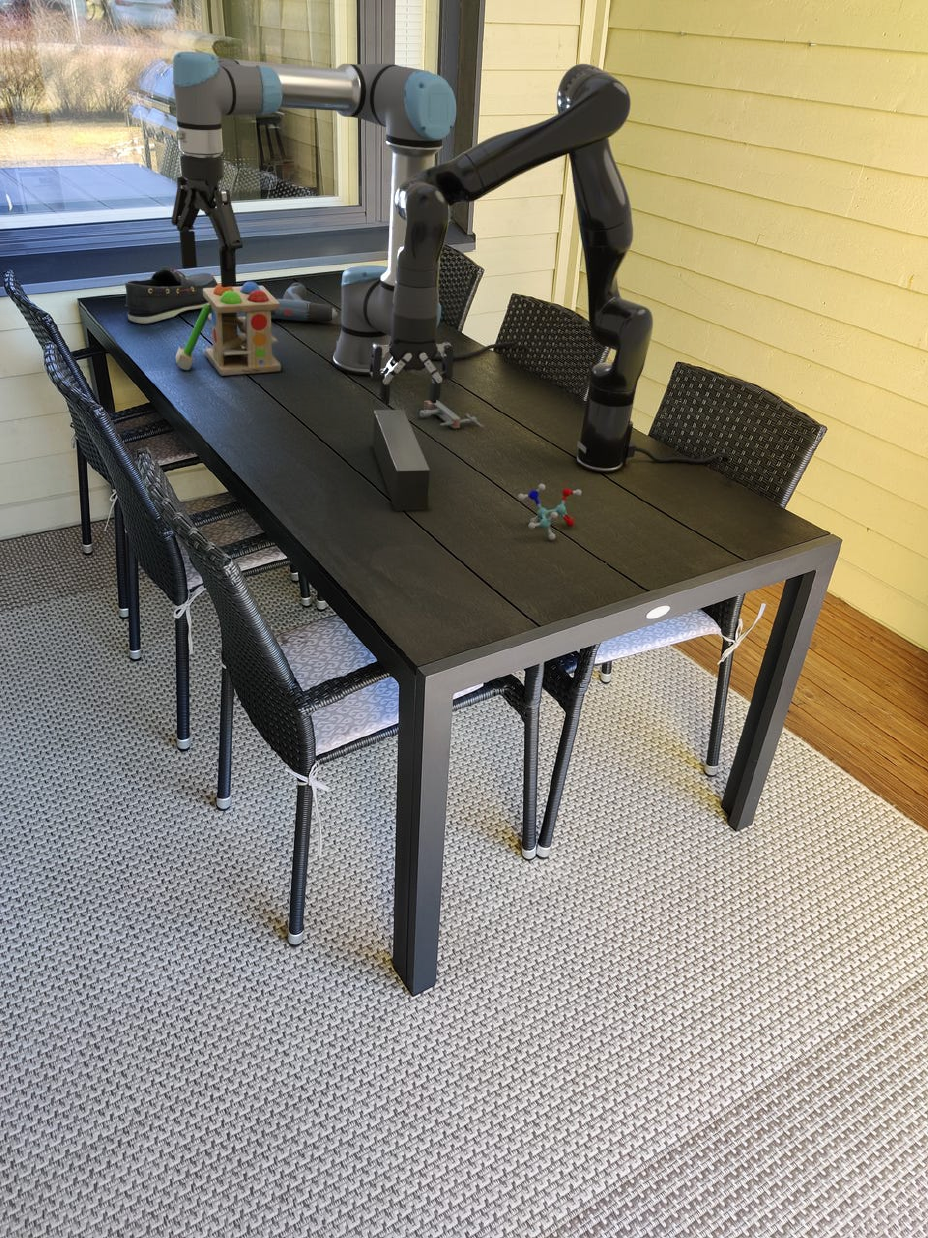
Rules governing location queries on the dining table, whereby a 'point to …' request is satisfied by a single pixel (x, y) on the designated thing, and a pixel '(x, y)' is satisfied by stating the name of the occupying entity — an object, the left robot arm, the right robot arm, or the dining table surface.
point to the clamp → (446, 415)
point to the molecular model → (554, 512)
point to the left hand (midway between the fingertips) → (208, 276)
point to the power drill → (301, 307)
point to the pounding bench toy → (229, 347)
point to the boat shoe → (166, 295)
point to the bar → (400, 460)
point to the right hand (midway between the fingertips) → (409, 402)
